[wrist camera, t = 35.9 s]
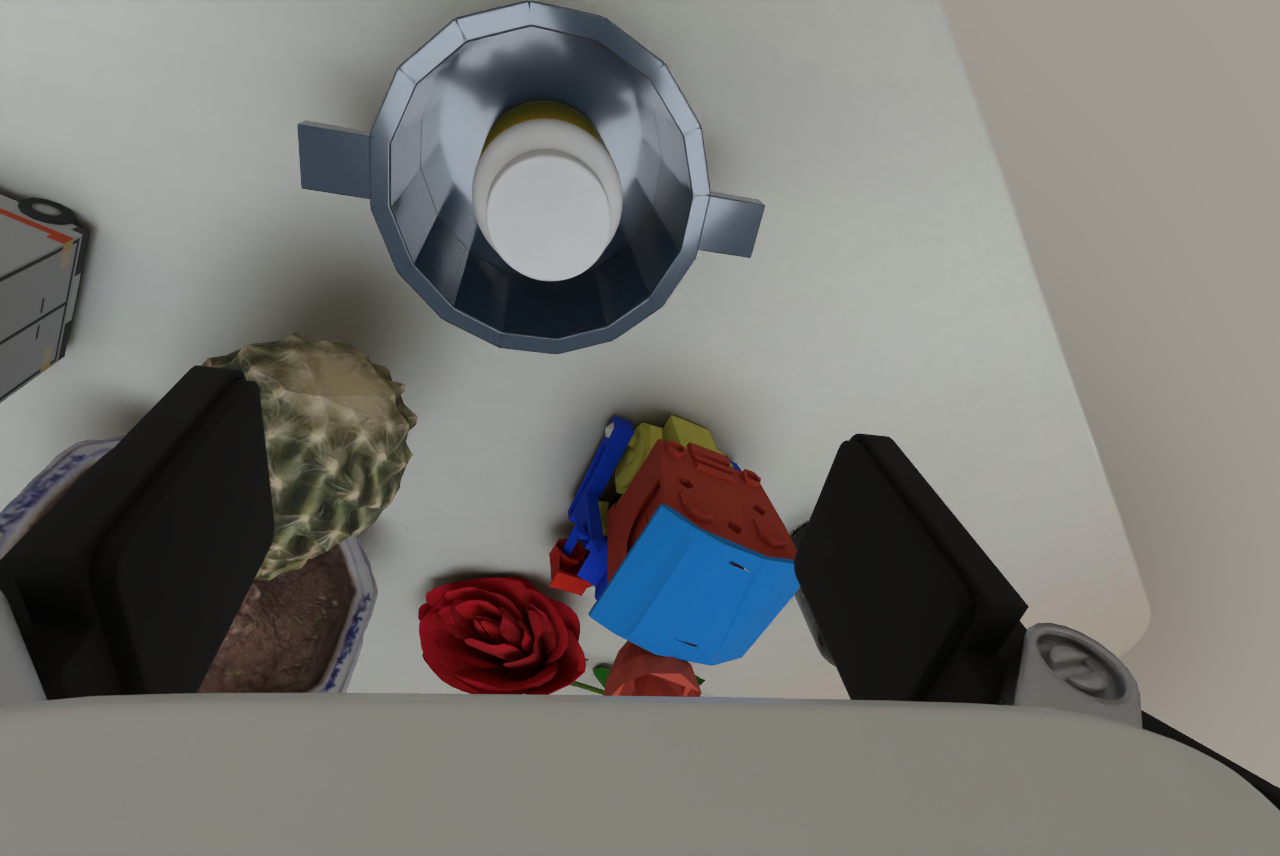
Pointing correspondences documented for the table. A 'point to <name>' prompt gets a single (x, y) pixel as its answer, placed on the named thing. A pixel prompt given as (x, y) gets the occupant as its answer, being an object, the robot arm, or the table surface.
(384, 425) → the potted plant
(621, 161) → the pot
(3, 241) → the toy vehicle
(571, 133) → the pill bottle
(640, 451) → the toy train
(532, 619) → the flower
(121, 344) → the table surface
